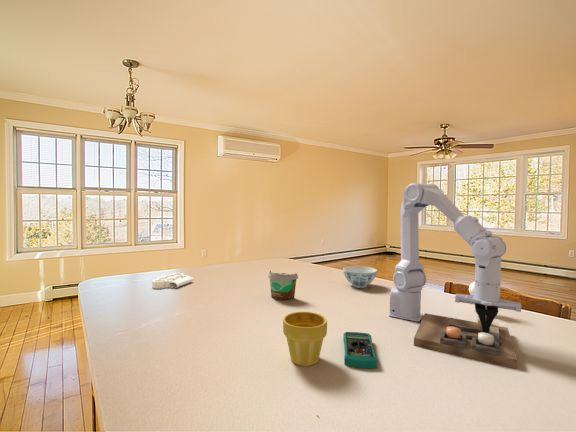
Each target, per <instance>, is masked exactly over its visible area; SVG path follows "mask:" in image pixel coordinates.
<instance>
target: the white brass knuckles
mask: <svg viewBox="0 0 576 432" xmlns="http://www.w3.org/2000/svg"><path fill="white" fill-rule="evenodd" d="M192 282H194V277H192V276H190V275H187V274H186V275H185V273H182V272H175V273H174V272H173V273H171V274H165V275H162V276H159V277H157V278H156V279H152V281H151V287H152V289H156V290H157V289H165V288H167V289H168V288H169V289H177V288H179V287H182V286H185V285H187V284H190V283H192Z"/></svg>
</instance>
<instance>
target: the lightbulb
mask: <svg viewBox="0 0 576 432" xmlns="http://www.w3.org/2000/svg"><path fill="white" fill-rule="evenodd" d="M474 285H475V281H473V282H471V283H470V284H469V287H468V292H469V295H474ZM473 311H474V312H476V310H475V304H473Z"/></svg>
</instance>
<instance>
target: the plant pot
mask: <svg viewBox="0 0 576 432" xmlns="http://www.w3.org/2000/svg"><path fill="white" fill-rule="evenodd" d="M282 332H283V334H284V336H285V338H286V341H287V346H288V353H289V356H290V360H291V362H292V364H293V363H294V364H295V365H298V366H303V367H307V366H313V365H315V364H317V363H318V362H319V359H320V355H321V351H322V347H323V343H324V342H323V341H324V338H325V337H326V336H327V332H328V320H327V318H326V316H324V315H323V314H321V313H317V312H314V311H294V312H291V313H288V314H286V315H285V316H284V317H283V319H282Z"/></svg>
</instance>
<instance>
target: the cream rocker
mask: <svg viewBox="0 0 576 432" xmlns="http://www.w3.org/2000/svg"><path fill="white" fill-rule="evenodd" d="M476 322H477V325H480V326H482V325H481V322H480V319H479V316H478V315H477V320H476ZM491 326H492V327H497V328H498V329H499V326H500V323H499V322H498V321H495V320H493V322H492V324H491Z"/></svg>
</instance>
